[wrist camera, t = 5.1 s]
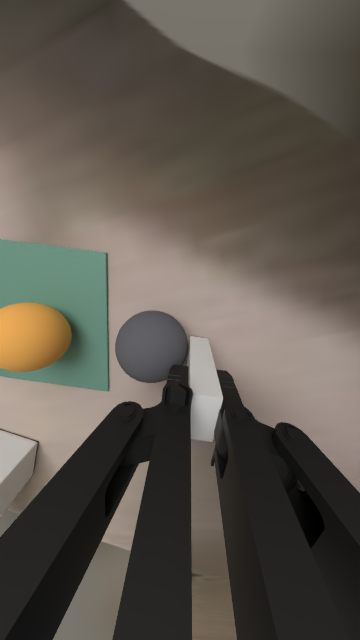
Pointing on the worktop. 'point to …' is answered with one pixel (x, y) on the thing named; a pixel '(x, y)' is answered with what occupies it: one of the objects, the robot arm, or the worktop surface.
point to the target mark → (62, 306)
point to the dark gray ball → (151, 346)
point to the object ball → (32, 336)
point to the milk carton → (14, 466)
